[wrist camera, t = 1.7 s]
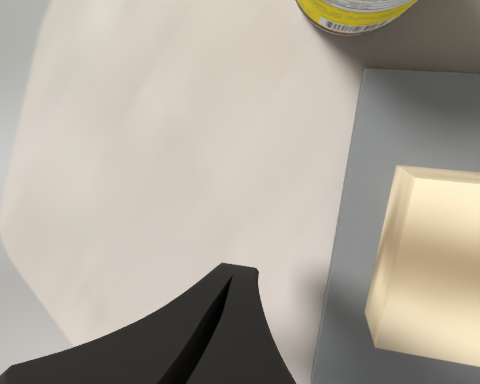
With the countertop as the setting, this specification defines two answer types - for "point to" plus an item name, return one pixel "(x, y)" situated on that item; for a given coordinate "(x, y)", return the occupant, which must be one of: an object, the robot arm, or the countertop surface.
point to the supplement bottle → (352, 14)
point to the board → (374, 210)
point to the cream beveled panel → (429, 267)
